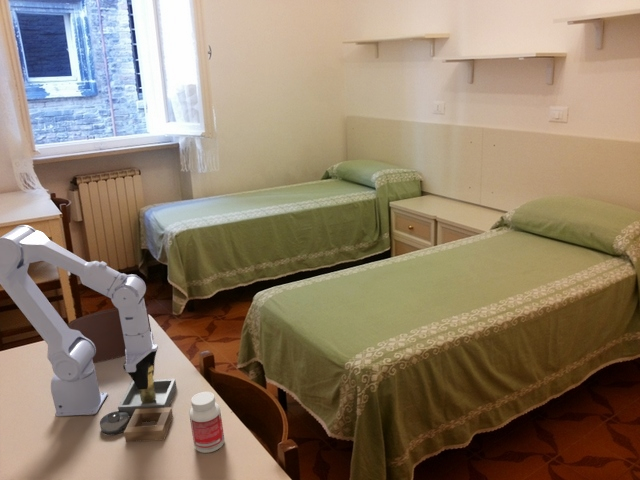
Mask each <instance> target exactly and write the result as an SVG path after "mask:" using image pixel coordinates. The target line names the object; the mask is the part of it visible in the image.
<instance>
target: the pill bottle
mask: <svg viewBox="0 0 640 480" xmlns="http://www.w3.org/2000/svg"><path fill="white" fill-rule="evenodd" d="M190 403H191V407H190V410H189V412H188V413H189V414H188V415H189V420H190V428H191V433H192V440H193V446H194V448H195V449H196V451H198V452H200V453H203V454H204V453H205V454H206V453H212V452H216V451H218V449H220V448H221V447H223V445H224V443H225V434H224V427H223V419H222V413H221V407H220V405H219V404H218V402H216V397H215V394H214V393H213V392H211V391H202V392H198V393H196V394H194V395H193V396H192V397H191V399H190Z"/></svg>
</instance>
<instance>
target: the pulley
mask: <svg viewBox="0 0 640 480" xmlns="http://www.w3.org/2000/svg"><path fill="white" fill-rule="evenodd" d="M129 421H130V417H129V415H128V413H126V412H124V411H118V410H117V411H112V412H109V413H107V414H105V415H104V416H103V417H102V418H101V419H100V421H99V426H100V430H101V433H102V434H103V435H105V436H115V435H118V434H121V433H124V431H125V429H126V427H127V425H128V423H129Z"/></svg>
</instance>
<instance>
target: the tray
mask: <svg viewBox="0 0 640 480" xmlns="http://www.w3.org/2000/svg"><path fill="white" fill-rule="evenodd" d="M153 380H154V387H155V393H156V399H155V400H153V401H151V402H147V403H144V402H141V398H140V392H139V390H138V388H137V387H136V385H135V383H134V381H133V380H132V381H131V383H130V384H129V387H128V388H127V390H126V391H125V393H124V395H123V396H122V399H121V401H120V402H119V404H118V406H117V411H124V412H126V413H128V415H129V418H130V417H132V415H133V413H134V411H135V409H148V408H167V407H171V406H170V405H171V403H172V401H173V399H174V395H175V393H176V391H177V381H176V378H167V379H165V378H164V379H153Z"/></svg>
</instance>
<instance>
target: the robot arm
mask: <svg viewBox="0 0 640 480" xmlns="http://www.w3.org/2000/svg"><path fill="white" fill-rule="evenodd" d="M38 262H45V263H47V264H51V265H52V266H54V267H57V268H58V269H62V270H64V271H66V272H68V273H70V274H73V275H75V276H78V278H79V280H80V283H81V284H82V285H83V286H86V287H88V288H90V289H91V290H93V291H95V292H98V293H99V294H101V295H103V296H105V297H107V298H109V299H110V300H111V302H112V303H111V304H112V305H113V306H114V307H115V308H118V310H119V316H120V321H121V326H122V331H123V337H124V342H125V347H126V349H125V354H126V356H125V362H124V363H123V365H122V366H123V367H122V368H123V371H125V373H127V374H128V376H130V377H131V379H132V381H134V383H135V385H136V387H137V388H138V390H141V389H147V388H148V368H149V365H150V364H152V365H153V368H154V370H153V372H152V374H153V376H154V374H155V373H154V372H155V361H156V360H155V359H156V355H157V352H158V349H159V345H158V343H157V344H156V343H155V344H154V335H153V331H151V332H150V328H149V323H148V317H147V311H146V307H147V306H146V302H145V298H144V296H145V294H146V291H147V286H146V283H145V281H144V280H143V278H141V277H140V276H138V275H137V274H132V273H131V274H126V273H124V272H123V273H121V272H119V271H118V270H115V269H113V268H112V267H110V266H108V263H107V262H105V261H103V260H102V261H99V260H94V261H86V260H85V259H83V258H81V257H79V256H78V255H76V254H75V253H73V252H71V251H69V250H67V249H66V248H64V247H63V246H60V244H58V243H56V242H54V241H53V240H51V239H49V238H48V236H47V235H46V234H45V233H44V232H42V231H40V230H37V229H35V227H33V226H31V225H27V224H20V225H17V226H16V227H14V228H13V229H12V230H10V231H8V232H7V233H5V234H4V235H2V236H1V237H0V285H1V287H2V288H3V290H4V291H5V292H6V293H7V294H8V296H9V297H10V299H12V301H13V303H14V304H15V305H16V306H17V308H19V310H20V311H21V312H22V314H23V316H25V318H27V321H29V323H30V324H31V325H32V326H33V328H34V329H35V330H36V332H37V333H38V335H40V336H41V338H42V339H43V341H44V342H45V343H46V344H47V354H46V355H47V356H46V357H47V360H48V361H49V362H50V364H51V367H52V371H53V373H54V374H53V376H52V377H51V382H50V391H51V392H50V393H51V396H52V401H53V405H54V408H55V413H54V416H55V417H70V416H85V415H87V416H88V415H89V416H91V415H96V414H98V411H99V410H100V408H101V407H102V405H103V404H104V401H105V400H106V399H107V397H108V395H109V394H108V392H101V391H100V387H99V382H98V378H97V373H96V369H95V363H93V359H92V358H93V357H94V356H95V353H96V347H95V345H94V343H93V342H92V341H91V340H89V339H88V338H86V337H84V336H83V335H82V334H81V332H80V331H78V330H72V329H70V328H69V325H68V324H67V323H66V322H65V321H64V319H63V318H62V317H61V315H60V314H59V312H58V311H57V310H56V309H55V307H54V306H53V305H52V303H50V302H49V300H48V298H47V297H46V296H45V294H44V293H43V292H42V291H41V289H40V288H39V287H38V285H37V284H36V282H35V281H34V280H33V278H32V277H31V276H30V275H29V274H28V269H29V266H30V264H33V263H38ZM145 306H146V307H145Z"/></svg>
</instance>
